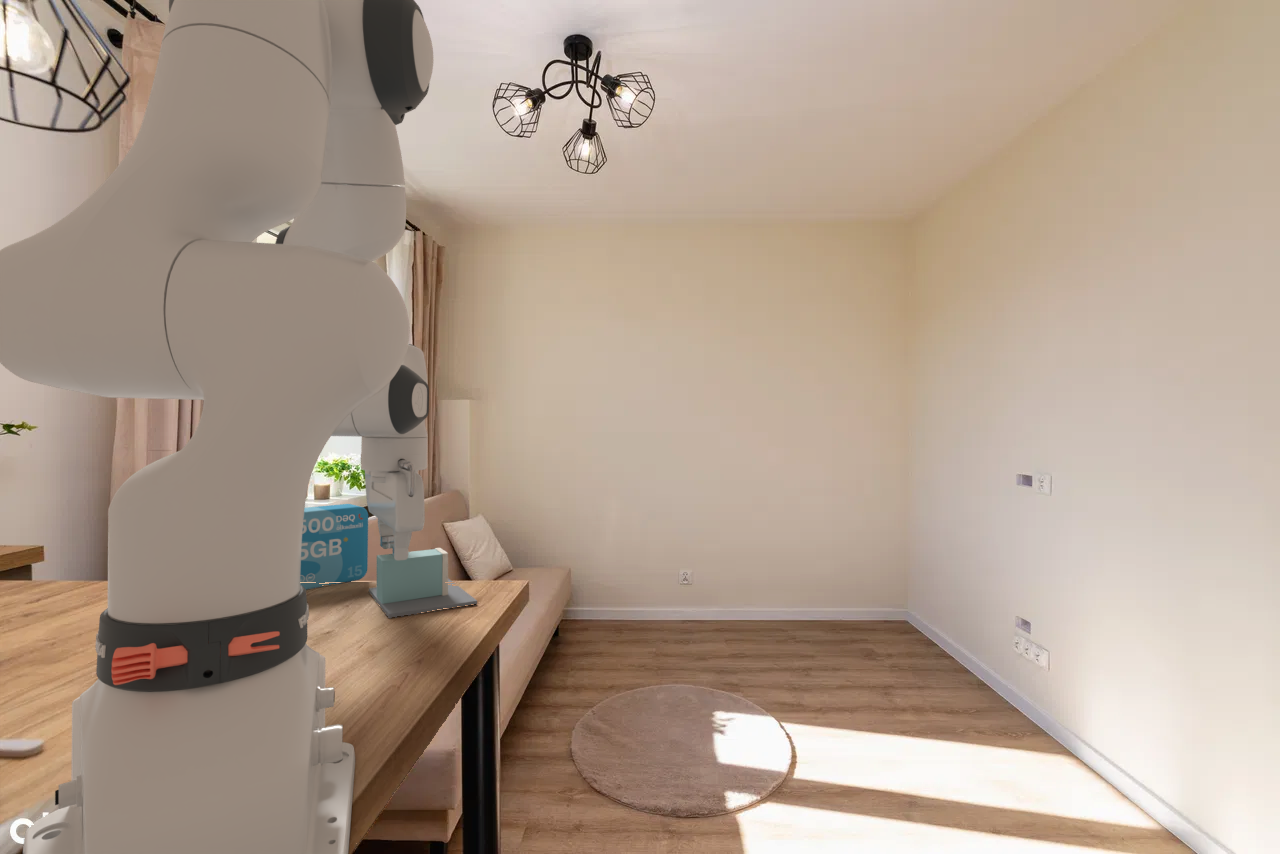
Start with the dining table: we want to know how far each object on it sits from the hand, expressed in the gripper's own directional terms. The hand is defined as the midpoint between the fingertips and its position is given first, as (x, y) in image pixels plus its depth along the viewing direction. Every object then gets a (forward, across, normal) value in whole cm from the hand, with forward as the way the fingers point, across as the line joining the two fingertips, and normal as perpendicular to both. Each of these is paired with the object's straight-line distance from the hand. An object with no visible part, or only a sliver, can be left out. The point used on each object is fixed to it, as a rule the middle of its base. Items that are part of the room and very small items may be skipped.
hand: (393, 553), depth 89 cm
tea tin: (+4, 0, +2) cm, 4 cm away
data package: (+7, +16, +7) cm, 19 cm away
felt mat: (+7, 0, -4) cm, 8 cm away
